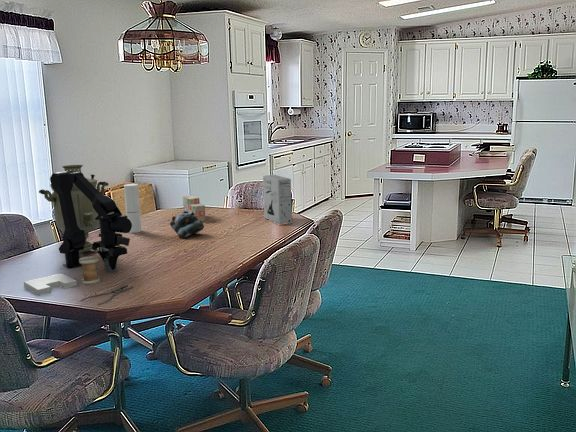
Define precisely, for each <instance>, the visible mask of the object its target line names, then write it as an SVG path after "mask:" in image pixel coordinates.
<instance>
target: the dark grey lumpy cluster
mask: <svg viewBox="0 0 576 432" xmlns="http://www.w3.org/2000/svg"><path fill="white" fill-rule="evenodd" d="M171 218H172V219H171V220H170V222H169V226H170V227H171V228H172V230H174V232H175V233H176V234H177V237H178V238H179V239H183V240H184V239H186V238H187V237H190V236H192V235H193V234H197V233H199V232H201V231H203V230H204V228H205V226H204V223H203V221H201V222H200V221H198V219H197V217H196V216H195V215H194V213H193V212H191V213H190V214H189V213H188V212H187V211H184V210H183V212H182V213H179V214H178V215H177V216H172V217H171Z"/></svg>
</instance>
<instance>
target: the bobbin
mask: <svg viewBox="0 0 576 432" xmlns="http://www.w3.org/2000/svg"><path fill="white" fill-rule="evenodd" d="M99 261H100V260H99V257H98V256H96V255H95V256H93V255H91V256H83V257H80V259H79V263H81V264H83V265H82V273H83V278H81V279H80V284H82V285H95V284H99V283H100V282H101V277H100V276H98V272H97V271H98V270H97V263H98V262H99Z"/></svg>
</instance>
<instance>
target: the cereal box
mask: <svg viewBox="0 0 576 432" xmlns="http://www.w3.org/2000/svg"><path fill="white" fill-rule="evenodd" d="M262 185H263V186H262V187H263V189H262V190H263V210H264V211H263V215H264V217H265V218H267V219H269V220H271V221H274V222H276V223H278V224H283V223H292V224H293V218H292V217H293V216H292V179H291V178H290V177H289V178H288V177H285V176H281V175H277V174H268V175H262ZM265 218H264V219H265ZM267 219H266V220H267ZM269 220H268V221H269ZM271 221H270V222H271ZM276 223H275V224H276ZM278 224H277V225H278Z"/></svg>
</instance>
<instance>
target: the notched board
mask: <svg viewBox="0 0 576 432" xmlns="http://www.w3.org/2000/svg"><path fill="white" fill-rule="evenodd" d="M77 284H78V283H77V280H75V279H73V278H71V277H70V276H68V275H65V274H63V273H61V272H60V273H56V274H52V275H48V276H43V277H38V278H34V279H30V280H25V281H23V286H24V288H26V289H27V290H29V291H31V292H33V293H35V294H36V295H38V296H40V295H45V294H49V293H51V292H52V289H54V288H58V287H61V288H62V289H64V290H65V289H70V288H74V287H77V286H78V285H77Z"/></svg>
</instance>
